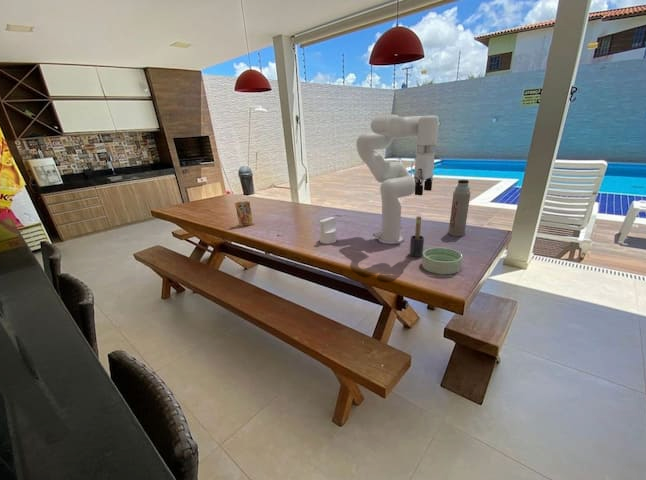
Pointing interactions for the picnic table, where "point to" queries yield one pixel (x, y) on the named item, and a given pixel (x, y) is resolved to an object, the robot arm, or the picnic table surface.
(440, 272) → the bowl
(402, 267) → the picnic table surface
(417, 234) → the stick
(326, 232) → the cylinder with rectangular tab
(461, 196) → the thermos bottle
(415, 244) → the holder
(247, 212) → the candy box
